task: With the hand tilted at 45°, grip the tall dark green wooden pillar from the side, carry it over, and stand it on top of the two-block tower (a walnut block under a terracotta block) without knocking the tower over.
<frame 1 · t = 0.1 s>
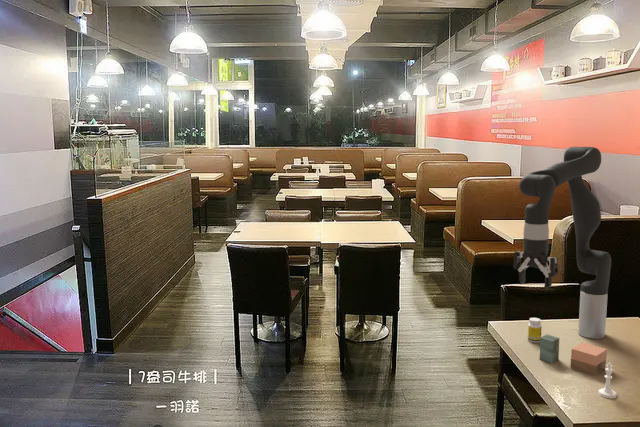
hand: (534, 285, 177), 29 cm above the table, tool pointing down, fingers open, 8 cm apart
supplement bottle: (534, 341, 206), on the table
green pillar block: (548, 359, 189), on the table
walnut base block: (587, 368, 182), on the table, touching terracotta top block
terracotta top block: (588, 358, 182), point 3 cm above the table, touching walnut base block
chess piece: (607, 395, 164), on the table
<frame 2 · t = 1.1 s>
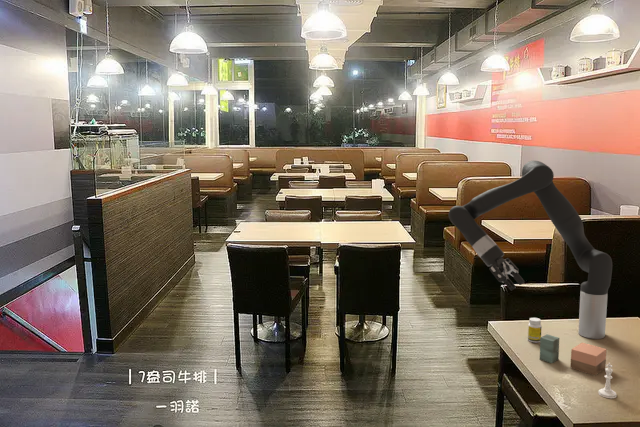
hand: (518, 286, 193), 24 cm above the table, tool tilted 45°, fingers open, 8 cm apart
nothing on the table moved.
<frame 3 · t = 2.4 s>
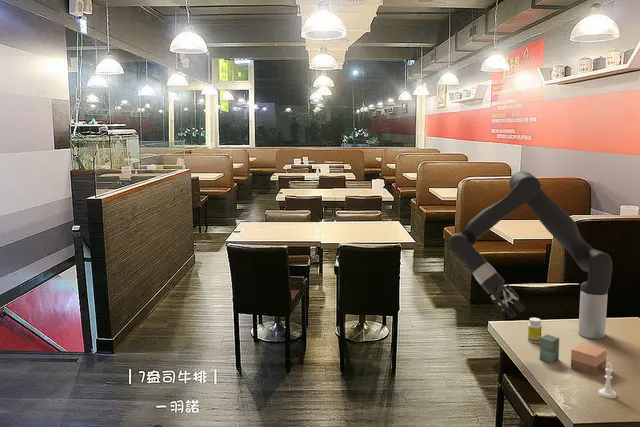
hand: (518, 313, 194), 14 cm above the table, tool tilted 45°, fingers open, 8 cm apart
nothing on the table moved.
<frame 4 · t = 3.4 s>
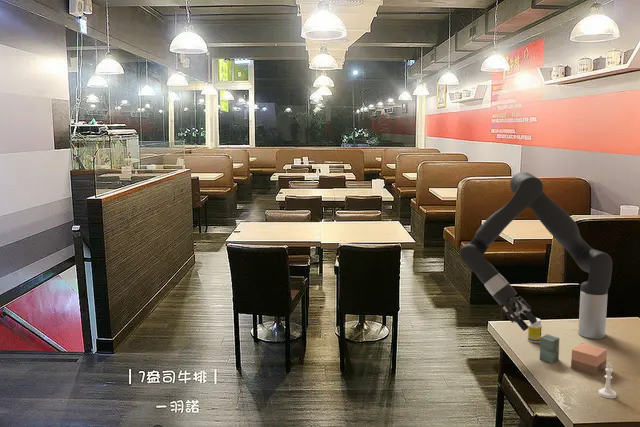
hand: (530, 325, 192), 11 cm above the table, tool tilted 45°, fingers open, 8 cm apart
nothing on the table moved.
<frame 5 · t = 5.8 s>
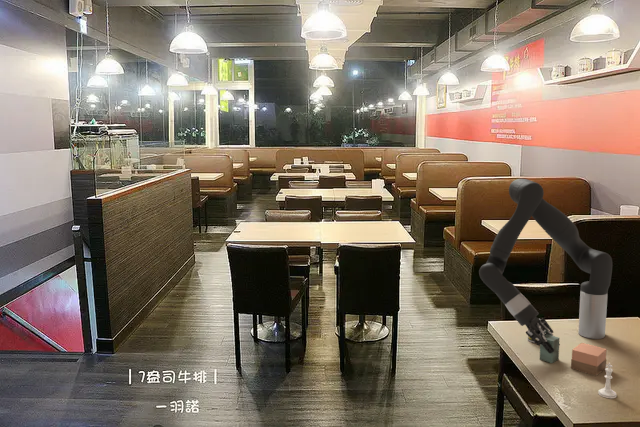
hand: (555, 349, 188), 4 cm above the table, tool tilted 45°, fingers closed on green pillar block, 5 cm apart
green pillar block: (549, 359, 189), on the table, touching gripper
everything else where it was.
when the fingers open (12 cm above the table, at t = 11.0 s): green pillar block drops 1 cm, point 7 cm above the table.
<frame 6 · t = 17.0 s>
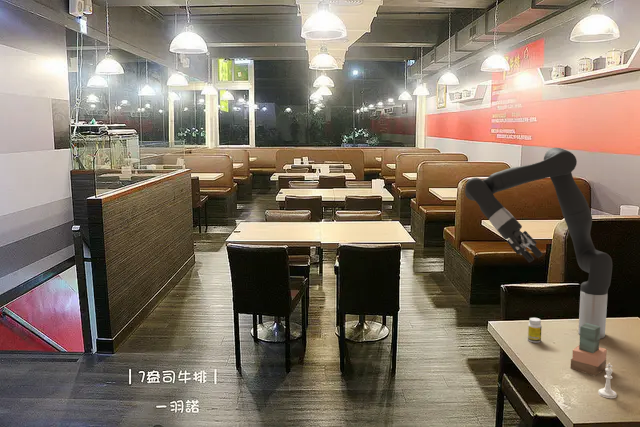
hand: (536, 258, 190), 35 cm above the table, tool tilted 45°, fingers open, 8 cm apart
green pillar block: (588, 349, 181), point 7 cm above the table
everything else where it was.
at the end: green pillar block 0.1 cm off-centre on the walnut base block, point 7.0 cm above the walnut base block's base; green pillar block tilted 0°; terracotta top block 0.2 cm off-centre on the walnut base block, point 3.5 cm above the walnut base block's base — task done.
